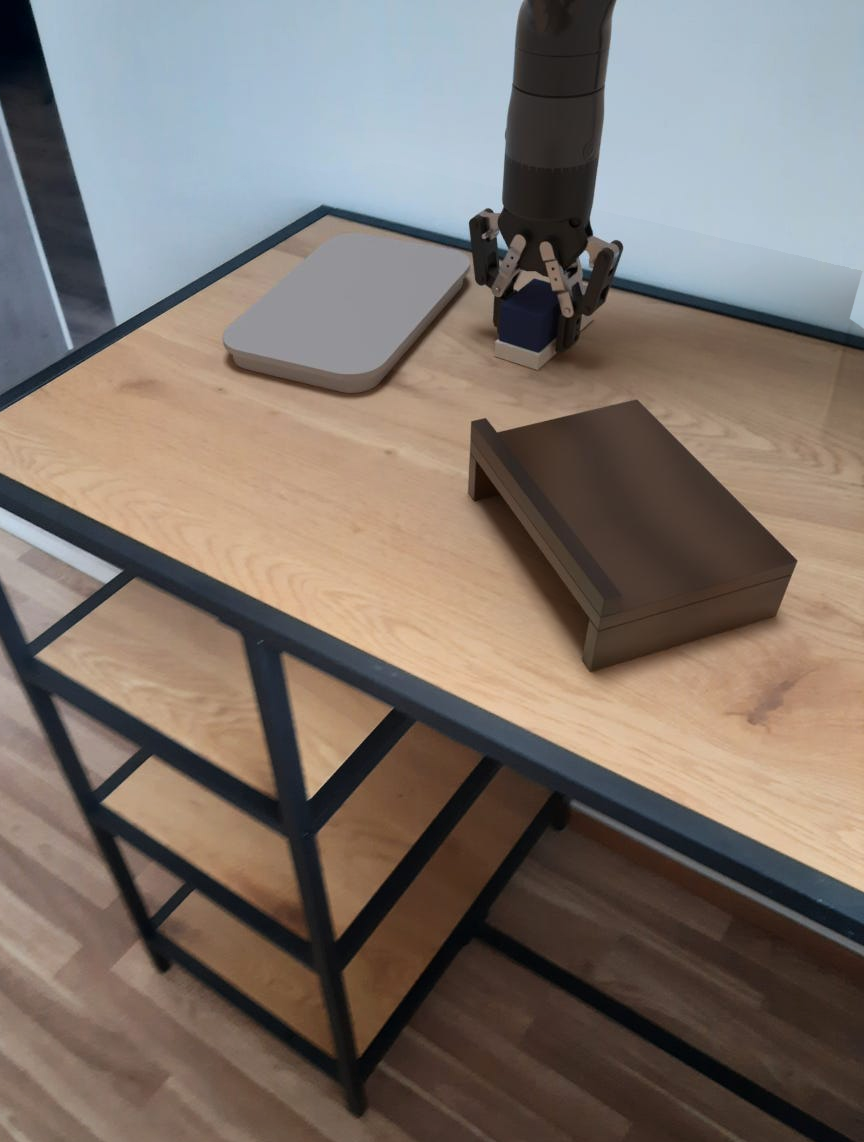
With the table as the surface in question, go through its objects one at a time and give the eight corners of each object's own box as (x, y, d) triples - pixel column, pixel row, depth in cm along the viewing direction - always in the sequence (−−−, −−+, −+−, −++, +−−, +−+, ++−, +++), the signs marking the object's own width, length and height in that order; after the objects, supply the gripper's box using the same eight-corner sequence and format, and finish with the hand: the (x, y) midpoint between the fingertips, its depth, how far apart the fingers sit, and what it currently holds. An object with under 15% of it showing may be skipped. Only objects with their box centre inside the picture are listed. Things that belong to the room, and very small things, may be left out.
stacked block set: (551, 307, 93) (556, 257, 89) (593, 319, 91) (600, 269, 87) (493, 356, 87) (497, 305, 83) (537, 370, 85) (542, 319, 81)
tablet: (478, 275, 98) (479, 254, 96) (369, 403, 82) (368, 380, 80) (340, 249, 103) (339, 229, 101) (212, 365, 87) (208, 343, 85)
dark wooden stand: (626, 452, 76) (640, 381, 71) (776, 615, 63) (805, 542, 58) (467, 492, 73) (470, 420, 68) (590, 672, 60) (604, 599, 55)
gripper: (656, 148, 74) (622, 344, 86) (498, 116, 80) (488, 303, 92) (614, 180, 70) (585, 381, 82) (451, 144, 76) (446, 336, 88)
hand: (533, 339), depth 87 cm, fingers open, 5 cm apart
